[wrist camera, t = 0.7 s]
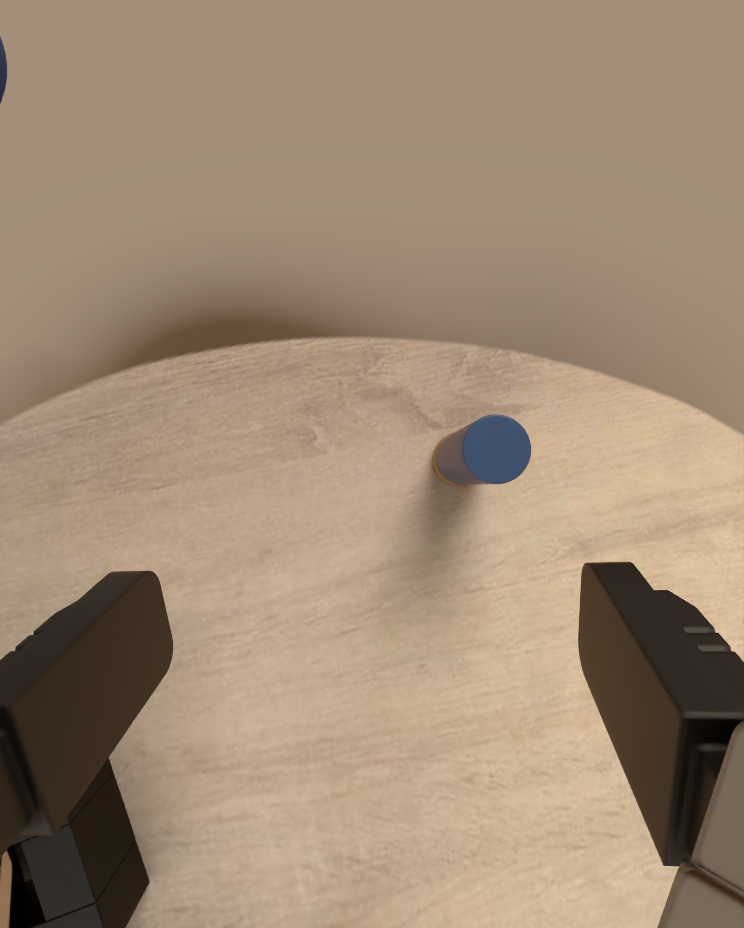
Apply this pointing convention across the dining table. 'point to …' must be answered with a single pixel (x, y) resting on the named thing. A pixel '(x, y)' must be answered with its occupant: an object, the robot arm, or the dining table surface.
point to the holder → (81, 866)
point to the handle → (483, 452)
